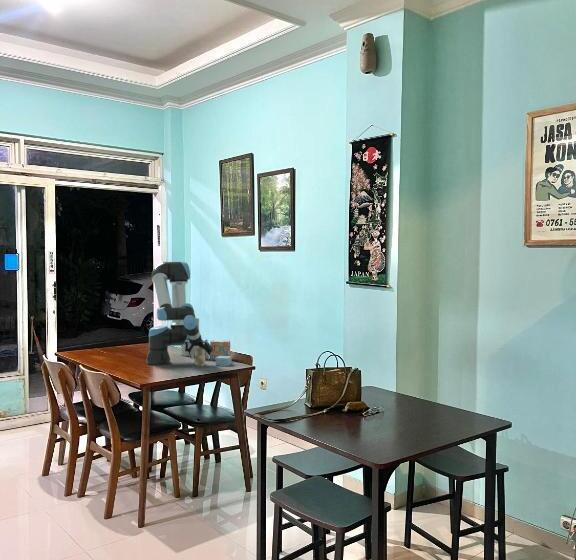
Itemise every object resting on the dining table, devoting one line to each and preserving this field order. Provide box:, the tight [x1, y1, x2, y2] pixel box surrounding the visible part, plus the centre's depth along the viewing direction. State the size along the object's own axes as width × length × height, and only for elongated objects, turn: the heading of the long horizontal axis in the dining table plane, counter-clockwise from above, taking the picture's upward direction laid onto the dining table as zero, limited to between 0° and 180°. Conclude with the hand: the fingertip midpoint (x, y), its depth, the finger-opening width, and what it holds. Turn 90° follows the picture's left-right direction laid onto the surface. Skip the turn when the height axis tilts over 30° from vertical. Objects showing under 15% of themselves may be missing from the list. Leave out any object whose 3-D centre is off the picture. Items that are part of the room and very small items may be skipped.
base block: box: [215, 355, 232, 367], centre depth 364 cm, size 8×8×5 cm
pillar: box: [194, 346, 206, 367], centre depth 363 cm, size 5×5×12 cm
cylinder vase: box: [180, 317, 200, 357], centre depth 400 cm, size 12×12×25 cm
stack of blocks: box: [205, 339, 231, 361], centre depth 385 cm, size 21×6×12 cm, turn 83°
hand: (201, 357), depth 366 cm, fingers open, 10 cm apart
